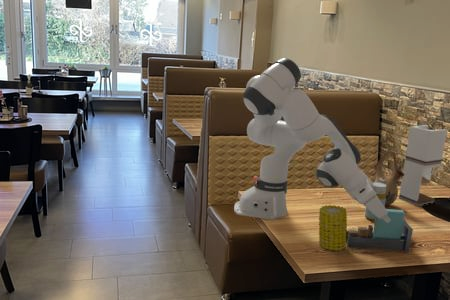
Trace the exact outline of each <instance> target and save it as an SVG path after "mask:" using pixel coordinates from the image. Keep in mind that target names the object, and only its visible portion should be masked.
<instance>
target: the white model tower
mask: <svg viewBox="0 0 450 300" xmlns="http://www.w3.org/2000/svg"><path fill="white" fill-rule="evenodd" d="M428 128H429V125H427V124H423V125H412V126H410V127H409V133H408V140H407V145H406V152H405V158H404V164H403V169H402V170H403V171H402V172H403V173H404V176H403V177H401V183H400V190H399V193H398V199H400V200H402V201H404V202H406V203H409V204H411V205H414V206H417V207H422V206H425V205H424V204H426V205H429V204H428V203H431V204H434V203H435V200H436V199H435V198H434V197H431V196H429V195H426V194H423V193H421V192H420V191H421V185H422V184H423V185H424V184H427V183H430V181H431V176H432V172H433V171H432V170H433V169H435V168H440V167H442V162H443V156H444V151H445V150H444V149H445V145H446V139H447V133H448V129H428ZM433 202H434V203H433Z"/></svg>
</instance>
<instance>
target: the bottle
mask: <svg viewBox="0 0 450 300" xmlns="http://www.w3.org/2000/svg"><path fill="white" fill-rule="evenodd" d="M372 182H373V184H374V189H375V191H376V193H377V194H376V195H377V197H378V198H379V200H380V201H381V203H382V204H383V206H384V207H385V208H386V206H385V200H386V194H385V192H386V184H384V183H380V182H375V181H372ZM364 217H365V218H366V219H367V220H368V221H370V222H371V221H372V222H375V218H376V216H375V215H374V214H373V213H371V212H370V211H369V210H368V209H367V208H366V207H365V213H364Z"/></svg>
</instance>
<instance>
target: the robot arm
mask: <svg viewBox="0 0 450 300" xmlns="http://www.w3.org/2000/svg"><path fill="white" fill-rule="evenodd" d="M301 79H302V73H301V69H300V68H299V66H298V65H297V63H296V62H295V61H293V60H292V59H290V58H286V57H282V58H280V59H277V60H276V61H275V62H274V63H273V64H272V65H270V66H269V67H268V68H267V69H265V70H264V71H263V72H262V73H260V74H259V75H257V74H256V75H255V76H252V77H251V78H250V79H249V80H248V81H247V83H246V86H245V90H244V91H243V94H242V101H243V103H244V105H245V107H246V108H247V109H248V110H249V111H250V112H251V113H252V114H253V116H254V118H252V119H251V120H250V121H249V122H248V124H247V127H246V135H247V137H248V139H249V140H250V141H251V142H253V143H256V144H258V145H263V146H269V147H271V148H273V147H274V151H273V153H271V154H267V155H266V156H264V157H263V158H262V159H261V162H260V171H259V176H257V175H254V177H253V181H254V183H253V184H254V185H253V186H252V187H250V188H248V189H247V190H245V191H243V192H242V194H241V195H240V198H239V200H238V201H237V202H235V203H234V207H233V211H234V213H235V214H236V215H238V216H244V217H251V218H256V219H257V218H258V219H262V220H263V219H265V220H270V221H273V220H276V219H278V218H282V217H284V216H286V215H287V214H288V207H287V199H286V197H287V195H286V194H287V191H288V179H287V178H288V170H289V165H290V162H291V159H292V158H293V156H294V155H295V154H296V153H297V152H299V151H300V150H302V149H303V148H305V146H306V145H307V143H309V142H315V141H317V140H320V139H321V138H324V137H325V136H327V137H328V139H330V141H331V142H332V143H333V145H334V147H333V149H330V150H329V151H328V152H326V154H325V155H323V158H322V162H321V163H320V164H319V166H317V169H316V170H315V175H316V179H317V180H318V181H319V182H320V184H322V185H323V186H324V187H325V188H337V187H339V186H342V187H343V189H344V190H345V192H346V193H347V194H348V195H349V197H351V198H352V199H353V200H355V201H357V202H358V203H359V204H360V205H363V206H364V207H365V209H366V208H367V209H368V210H369V211H370V212H371V213H373V214H374V215H375V216H376V217H377V218H378V219H383V220H384V221H385V222H386V223H388V222H390V221H391V219H390V218H389V217H388V216H387V214H388V212H387V210H386V209H387V208H386V206H385V207H384V206H383V204H382V203H381V201H380V200H379V198H378V197H377V195H376V194H377V193H376V191H375V189H374V184H373V182H374V181H372V180H371V179H370V177H368V175H367V174H366V173H365V172H364V171H363V170H362V169H360V167H359V165H358V164H360V163H361V161H362V160H361V159H362V158H361V157H362V156H361V152H360V151H361V150H360V149H359V148H358V147H357V146H356V145H355V144H354V143H353V142H352V141H350V139H349V138H348V137H347V135H346V134H345V133H344V131H343V130H342V129H341V127H340V126H339V125H338V123H336V121H335V120H334V119H332V117H330V116H329V115H325V114H320V113H319V111H318V109H317V107H316V105H315V104H314V103H313V102H312V100H311V98H310V97H309V96H308V95H307V94H306V93H305V92H304V90H302V89H298V88H294V87H297V85H298V84H299V82H300V80H301ZM282 118H283V120H282Z"/></svg>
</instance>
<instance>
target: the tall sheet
mask: <svg viewBox="0 0 450 300" xmlns="http://www.w3.org/2000/svg"><path fill="white" fill-rule="evenodd" d="M385 209H386V210H387V212H388V214H387V216H388V217H389V218H390V219H391V221H390V222H388V223H386V222H385V221H384V220H383V219H378V218H377V217H376V218H375V221H374V225H373V238H387V239H400V238H401V232H402V226H403V220H404V216H405V211H404V209H394V208H393V209H391V208H385Z"/></svg>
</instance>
